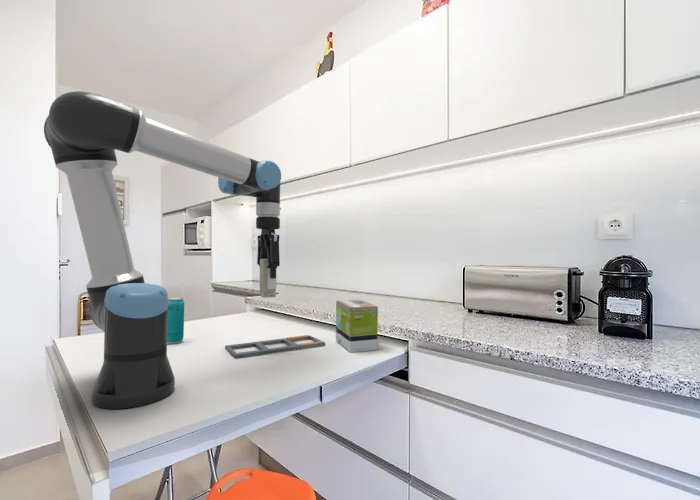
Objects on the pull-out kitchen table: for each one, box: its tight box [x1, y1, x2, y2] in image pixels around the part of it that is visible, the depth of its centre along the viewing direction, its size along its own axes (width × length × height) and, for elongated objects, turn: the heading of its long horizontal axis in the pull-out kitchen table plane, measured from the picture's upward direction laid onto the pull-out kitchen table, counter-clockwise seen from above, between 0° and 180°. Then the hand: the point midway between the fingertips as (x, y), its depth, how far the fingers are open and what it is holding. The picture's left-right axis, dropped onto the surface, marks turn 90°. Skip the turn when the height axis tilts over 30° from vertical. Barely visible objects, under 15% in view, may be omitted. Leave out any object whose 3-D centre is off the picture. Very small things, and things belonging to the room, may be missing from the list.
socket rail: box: [224, 334, 326, 360], centre depth 115 cm, size 12×30×1 cm, turn 123°
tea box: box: [335, 299, 379, 353], centre depth 118 cm, size 15×10×15 cm, turn 21°
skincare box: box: [259, 259, 277, 298], centre depth 113 cm, size 6×4×12 cm
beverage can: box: [167, 296, 185, 345], centre depth 118 cm, size 6×6×15 cm
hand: (267, 287), depth 113 cm, fingers closed on skincare box, 7 cm apart
